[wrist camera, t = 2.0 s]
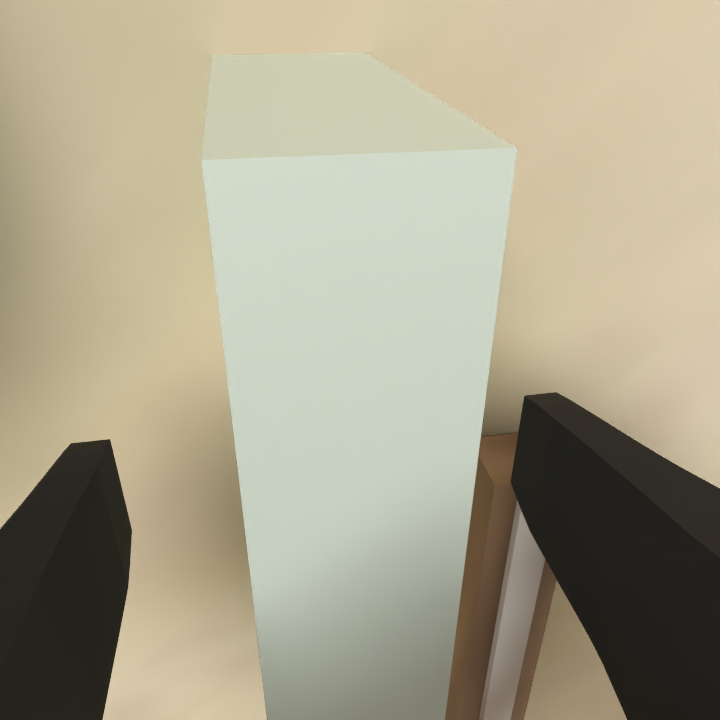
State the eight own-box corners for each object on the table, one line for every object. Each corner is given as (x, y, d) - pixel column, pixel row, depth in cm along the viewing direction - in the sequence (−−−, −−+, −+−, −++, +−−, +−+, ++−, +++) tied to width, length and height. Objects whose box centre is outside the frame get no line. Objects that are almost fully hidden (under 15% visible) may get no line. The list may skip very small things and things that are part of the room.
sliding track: (859, 394, 21) (926, 439, 19) (690, 746, 31) (721, 798, 29) (469, 438, 19) (498, 492, 17) (427, 798, 29) (442, 858, 27)
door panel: (365, 51, 13) (517, 147, 6) (361, 500, 19) (436, 789, 13) (211, 54, 13) (200, 159, 6) (257, 513, 19) (279, 820, 12)
